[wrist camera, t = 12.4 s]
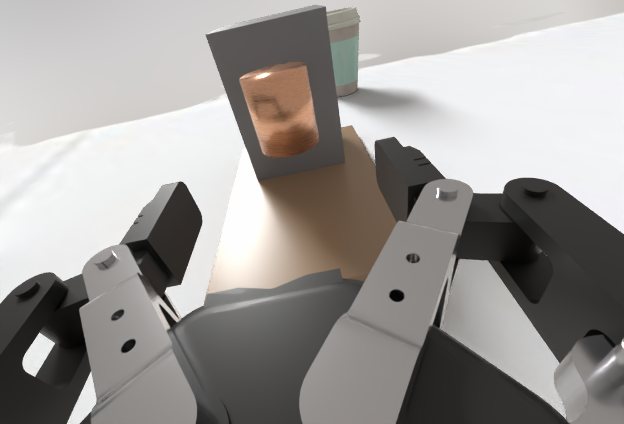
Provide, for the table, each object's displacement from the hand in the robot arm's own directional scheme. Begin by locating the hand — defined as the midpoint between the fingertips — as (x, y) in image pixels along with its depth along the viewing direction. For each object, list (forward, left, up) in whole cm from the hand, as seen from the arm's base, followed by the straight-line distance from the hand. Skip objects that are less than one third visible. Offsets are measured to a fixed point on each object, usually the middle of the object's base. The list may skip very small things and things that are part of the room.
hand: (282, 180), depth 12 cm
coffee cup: (+26, +35, -9) cm, 45 cm away
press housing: (+5, +11, -9) cm, 15 cm away
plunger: (+6, +13, -3) cm, 15 cm away
